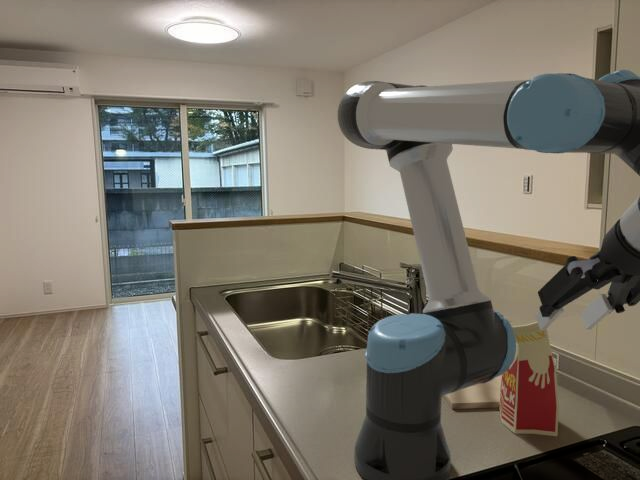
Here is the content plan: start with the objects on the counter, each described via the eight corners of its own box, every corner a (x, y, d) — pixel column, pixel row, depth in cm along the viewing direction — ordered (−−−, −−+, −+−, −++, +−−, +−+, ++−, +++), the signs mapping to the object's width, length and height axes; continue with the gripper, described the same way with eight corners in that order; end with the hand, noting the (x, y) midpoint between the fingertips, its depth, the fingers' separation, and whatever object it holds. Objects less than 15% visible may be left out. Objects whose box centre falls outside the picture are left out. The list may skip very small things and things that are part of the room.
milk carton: (541, 410, 93) (548, 311, 90) (560, 436, 84) (568, 328, 81) (493, 408, 94) (498, 310, 91) (506, 434, 84) (513, 326, 81)
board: (451, 408, 93) (452, 403, 93) (428, 374, 109) (428, 369, 109) (540, 406, 94) (540, 400, 94) (504, 372, 110) (504, 367, 110)
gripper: (582, 262, 55) (509, 345, 73) (743, 260, 56) (631, 342, 74) (560, 212, 59) (496, 302, 77) (709, 211, 60) (612, 300, 79)
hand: (562, 322), depth 76 cm, fingers open, 7 cm apart
